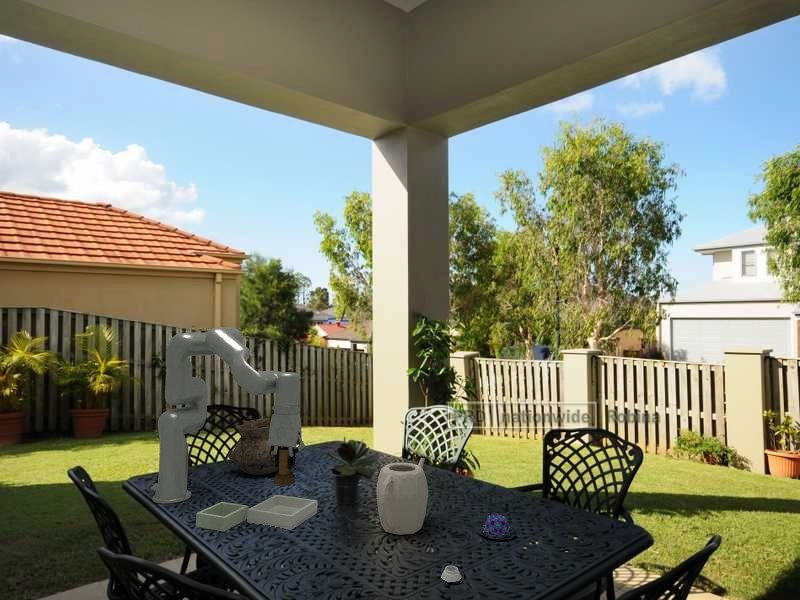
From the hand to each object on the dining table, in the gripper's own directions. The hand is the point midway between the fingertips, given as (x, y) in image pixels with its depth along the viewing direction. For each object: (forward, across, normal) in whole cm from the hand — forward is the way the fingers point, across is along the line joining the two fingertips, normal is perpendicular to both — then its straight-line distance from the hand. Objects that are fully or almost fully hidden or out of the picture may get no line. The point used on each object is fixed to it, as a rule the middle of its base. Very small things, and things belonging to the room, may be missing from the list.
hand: (284, 466), depth 164 cm
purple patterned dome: (+17, +67, +13) cm, 70 cm away
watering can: (+17, +39, +7) cm, 43 cm away
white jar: (+17, +61, -20) cm, 66 cm away
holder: (+16, -15, -11) cm, 25 cm away
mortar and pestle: (+5, 0, 0) cm, 5 cm away
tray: (+16, 0, 0) cm, 16 cm away
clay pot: (+16, -38, +41) cm, 58 cm away
